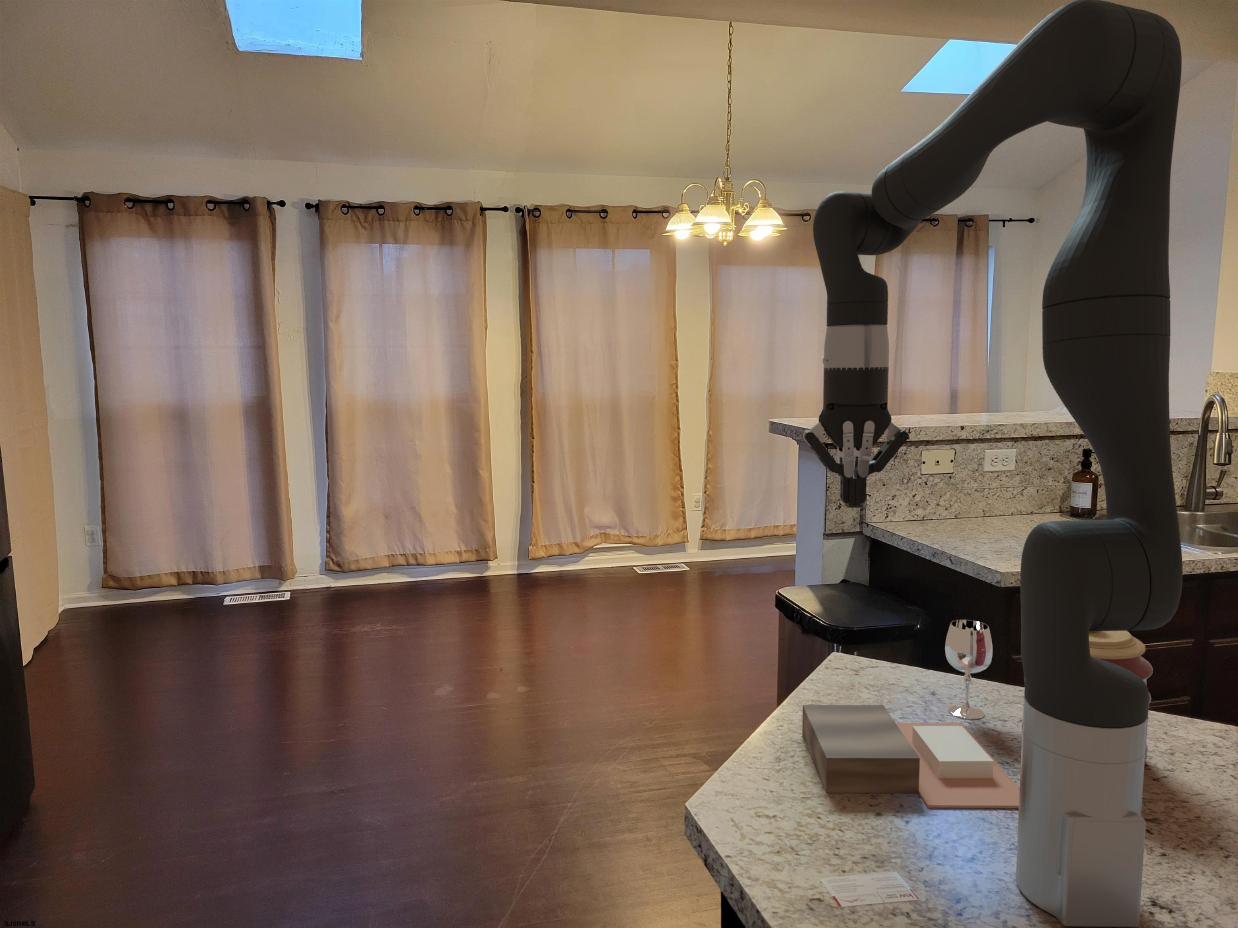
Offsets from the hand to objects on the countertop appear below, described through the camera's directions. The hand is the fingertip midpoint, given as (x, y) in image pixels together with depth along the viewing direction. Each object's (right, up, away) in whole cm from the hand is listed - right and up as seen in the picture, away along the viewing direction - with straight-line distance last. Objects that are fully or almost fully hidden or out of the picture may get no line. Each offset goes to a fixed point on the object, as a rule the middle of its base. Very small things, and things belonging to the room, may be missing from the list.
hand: (853, 506), depth 101 cm
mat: (+10, -30, -5) cm, 32 cm away
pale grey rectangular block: (+10, -27, -5) cm, 30 cm away
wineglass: (+18, -28, +9) cm, 34 cm away
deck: (-1, -30, -4) cm, 30 cm away
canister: (+26, -30, -3) cm, 40 cm away
